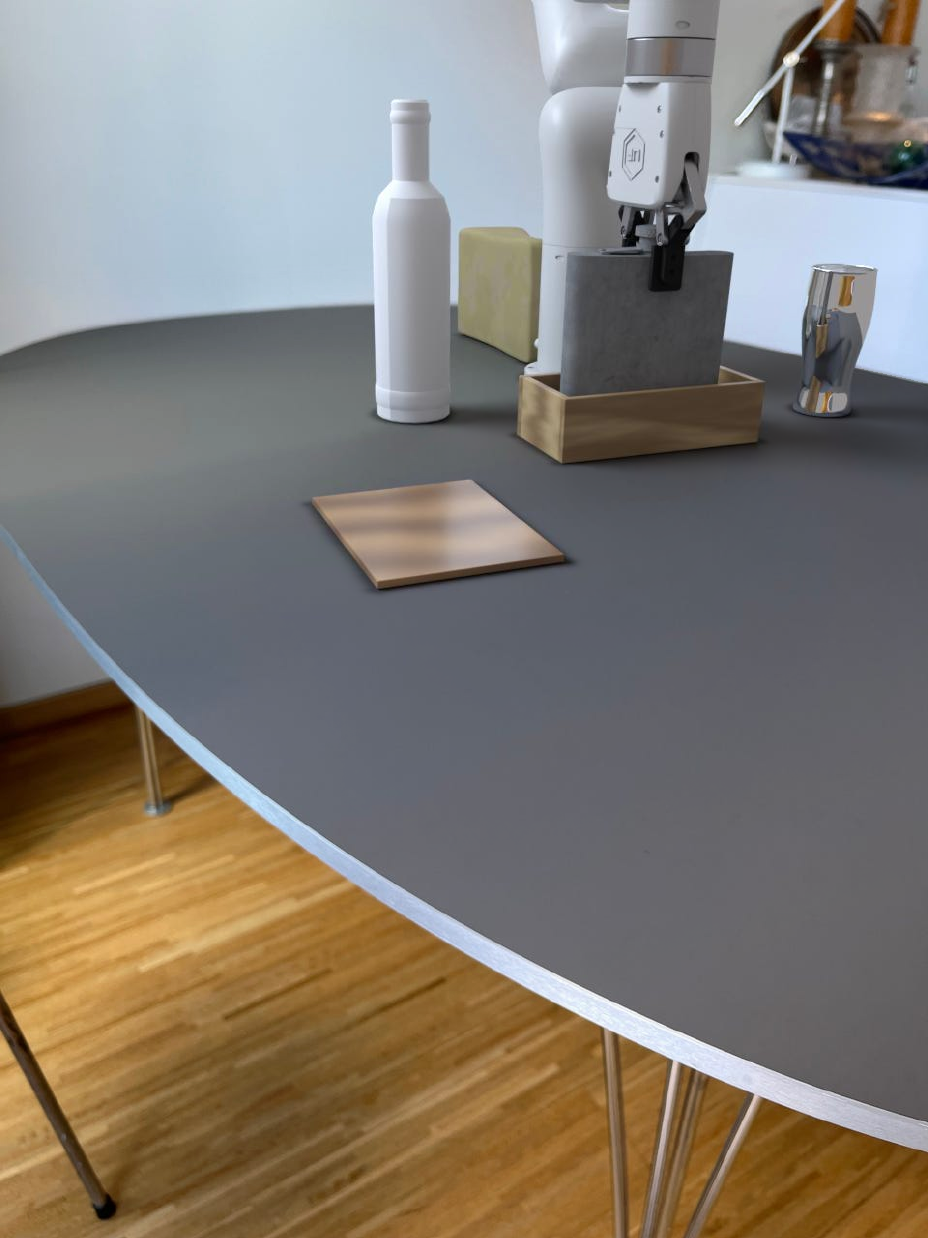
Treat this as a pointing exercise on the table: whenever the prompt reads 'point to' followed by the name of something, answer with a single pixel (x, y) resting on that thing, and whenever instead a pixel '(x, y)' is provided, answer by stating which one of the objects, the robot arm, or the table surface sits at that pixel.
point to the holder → (638, 417)
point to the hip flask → (642, 321)
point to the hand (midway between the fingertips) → (649, 284)
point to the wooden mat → (432, 533)
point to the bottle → (411, 278)
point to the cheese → (500, 288)
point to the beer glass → (833, 336)
